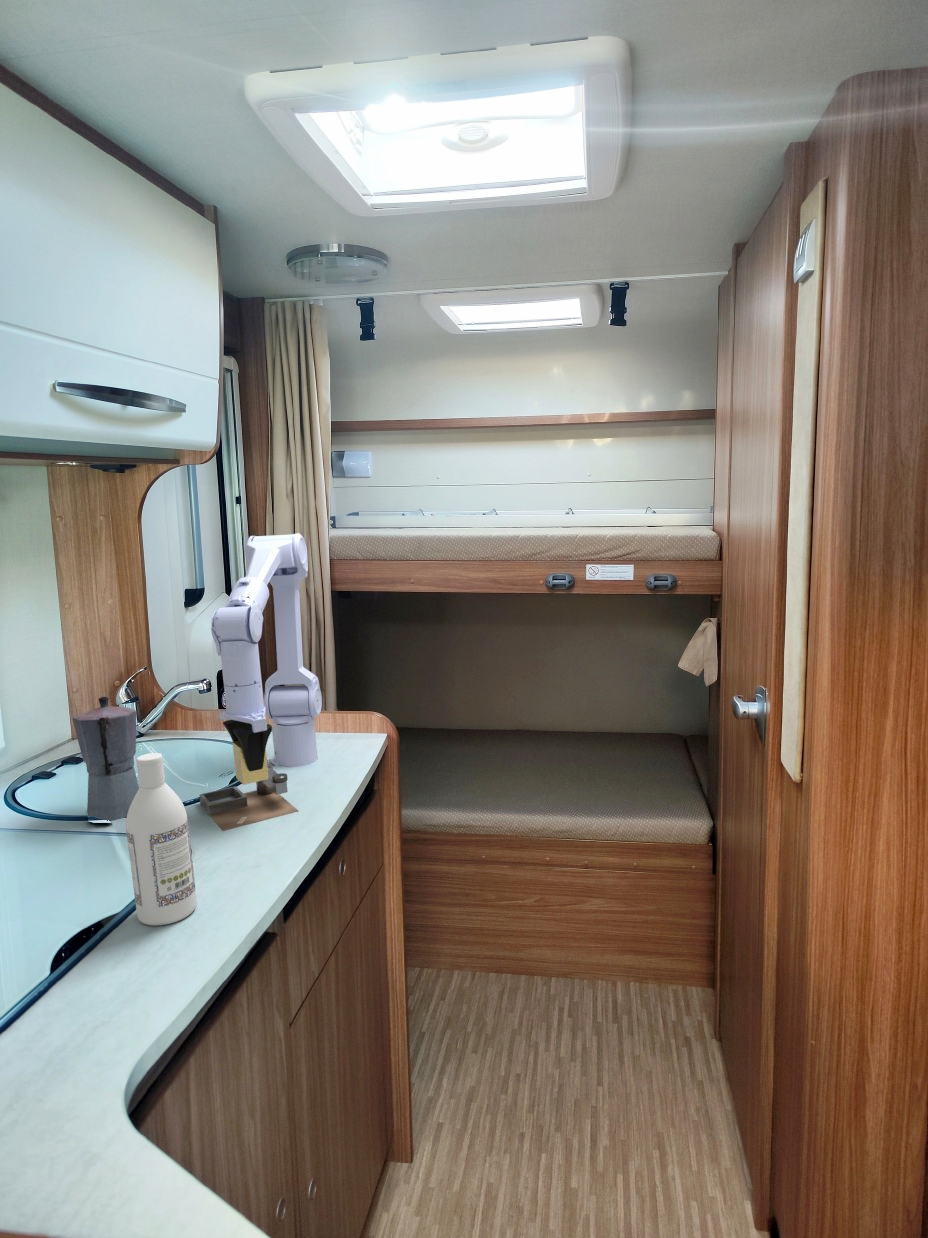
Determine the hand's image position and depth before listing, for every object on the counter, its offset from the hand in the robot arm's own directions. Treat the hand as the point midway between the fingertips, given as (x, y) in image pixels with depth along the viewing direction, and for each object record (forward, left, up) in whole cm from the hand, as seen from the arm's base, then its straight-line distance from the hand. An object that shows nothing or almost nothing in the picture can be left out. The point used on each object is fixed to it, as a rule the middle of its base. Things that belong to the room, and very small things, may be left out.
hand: (251, 766), depth 125 cm
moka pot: (-15, -19, -9) cm, 25 cm away
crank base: (-2, -1, -8) cm, 9 cm away
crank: (-3, +4, -7) cm, 9 cm away
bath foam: (+24, -18, -9) cm, 31 cm away
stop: (0, 0, -2) cm, 2 cm away
